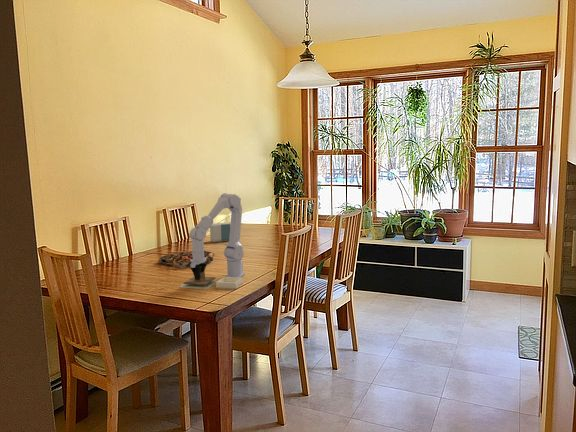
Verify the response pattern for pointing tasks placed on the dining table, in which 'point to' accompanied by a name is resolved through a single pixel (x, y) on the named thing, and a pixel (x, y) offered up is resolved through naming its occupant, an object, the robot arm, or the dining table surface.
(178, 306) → the dining table surface
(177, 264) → the food dish
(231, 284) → the white square tray
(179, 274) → the dining table surface
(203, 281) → the lid
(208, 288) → the beige flat square piece
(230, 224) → the robot arm
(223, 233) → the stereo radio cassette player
